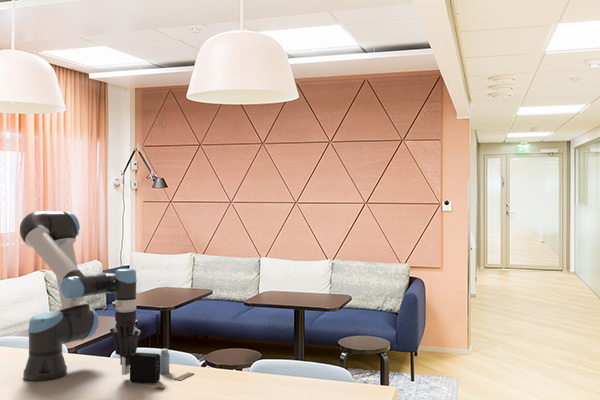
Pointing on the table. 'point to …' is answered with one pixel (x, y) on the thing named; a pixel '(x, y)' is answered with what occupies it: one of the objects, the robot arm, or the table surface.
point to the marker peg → (164, 361)
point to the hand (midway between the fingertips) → (125, 373)
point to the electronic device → (144, 368)
